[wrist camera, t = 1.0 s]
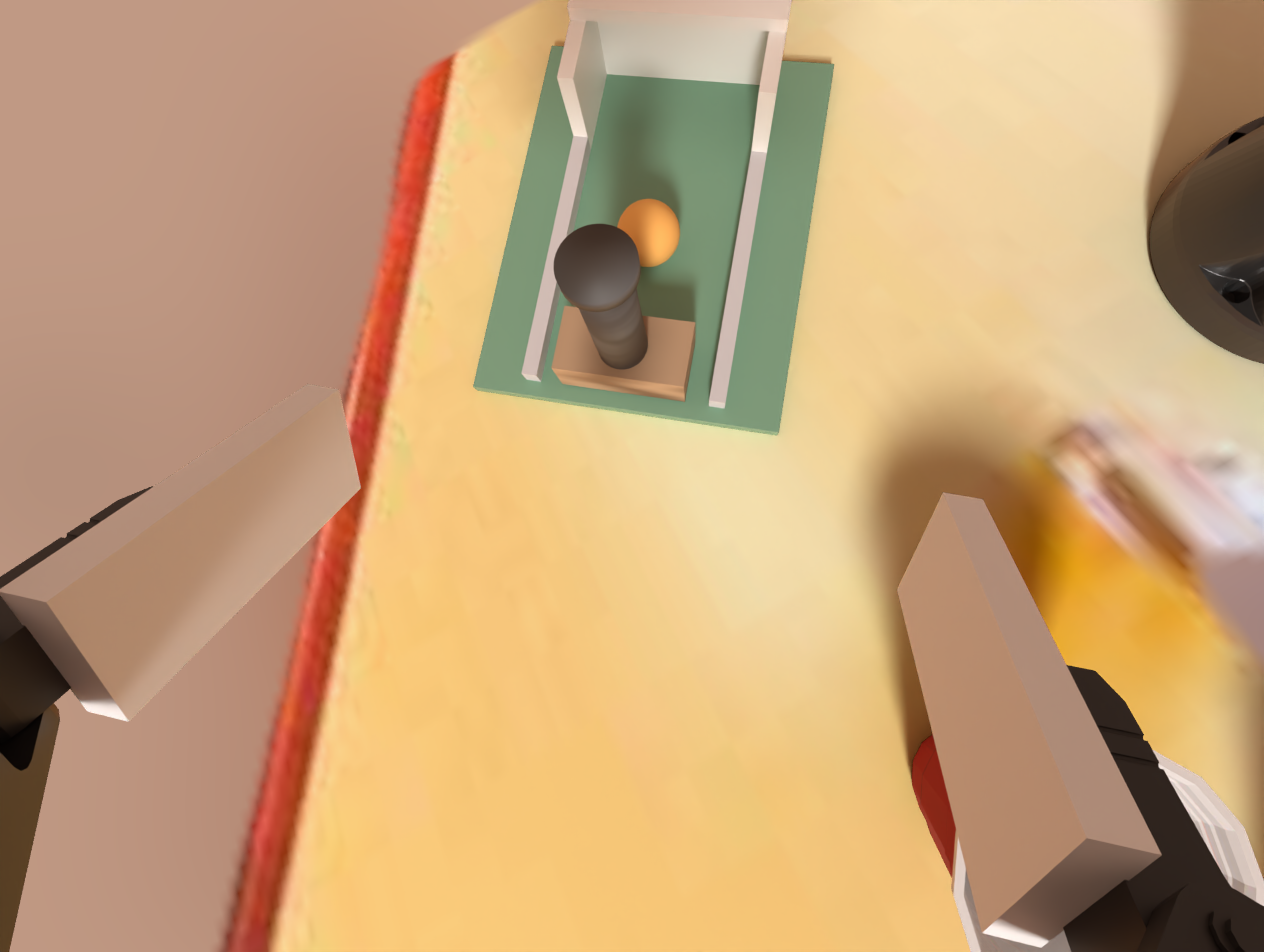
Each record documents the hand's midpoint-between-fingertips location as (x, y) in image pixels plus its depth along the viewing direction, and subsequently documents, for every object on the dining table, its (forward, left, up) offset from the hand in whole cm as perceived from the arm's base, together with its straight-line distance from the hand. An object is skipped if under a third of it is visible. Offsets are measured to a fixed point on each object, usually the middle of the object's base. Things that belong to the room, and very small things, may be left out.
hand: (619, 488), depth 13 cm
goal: (+5, -29, -23) cm, 38 cm away
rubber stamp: (+5, -11, -24) cm, 27 cm away
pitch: (+5, -21, -24) cm, 32 cm away
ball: (+5, -19, -21) cm, 29 cm away
